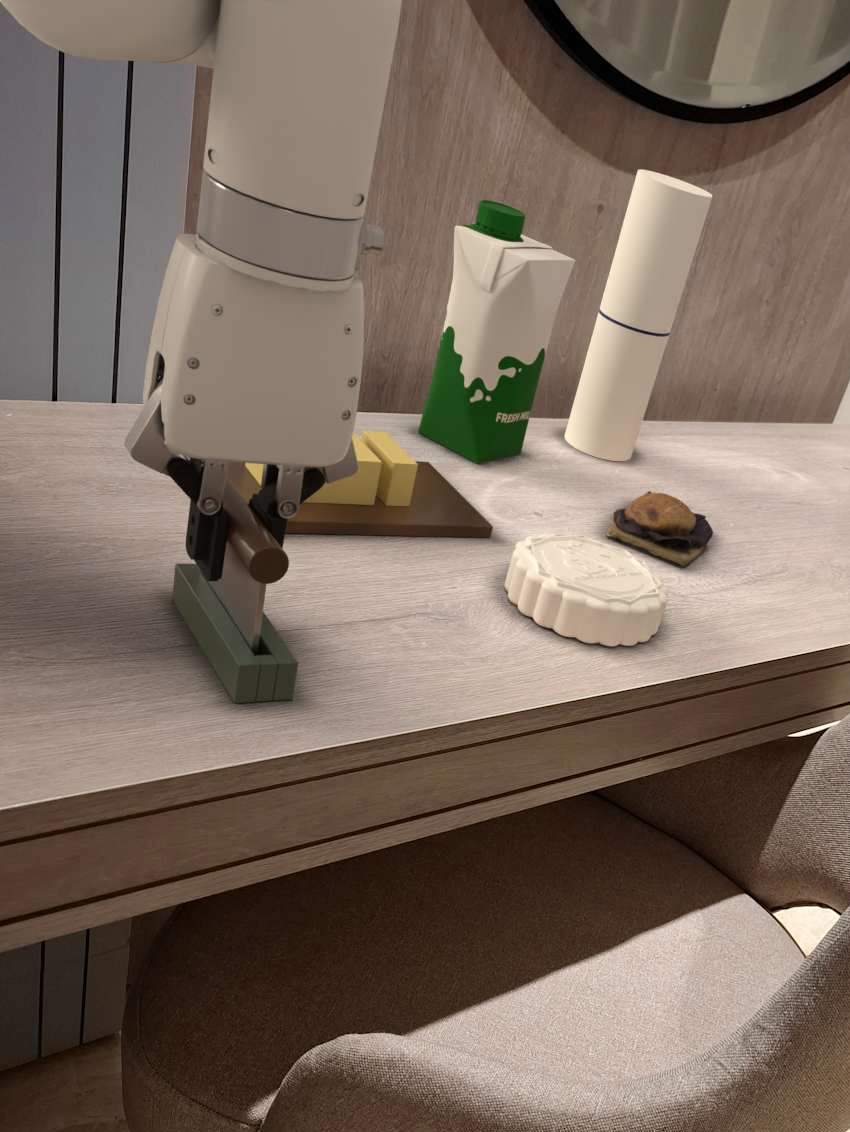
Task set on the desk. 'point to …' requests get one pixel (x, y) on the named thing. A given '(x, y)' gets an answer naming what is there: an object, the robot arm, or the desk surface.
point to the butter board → (384, 510)
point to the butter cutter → (247, 566)
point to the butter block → (344, 480)
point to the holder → (234, 643)
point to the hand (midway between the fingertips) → (231, 567)
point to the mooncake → (586, 589)
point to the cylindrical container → (636, 314)
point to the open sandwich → (662, 527)
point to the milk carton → (493, 335)
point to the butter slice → (392, 469)
